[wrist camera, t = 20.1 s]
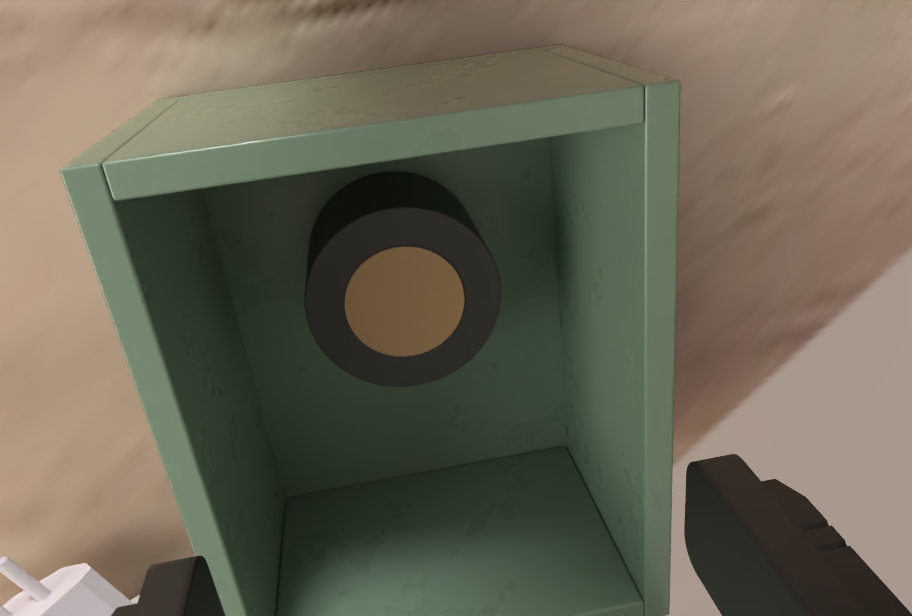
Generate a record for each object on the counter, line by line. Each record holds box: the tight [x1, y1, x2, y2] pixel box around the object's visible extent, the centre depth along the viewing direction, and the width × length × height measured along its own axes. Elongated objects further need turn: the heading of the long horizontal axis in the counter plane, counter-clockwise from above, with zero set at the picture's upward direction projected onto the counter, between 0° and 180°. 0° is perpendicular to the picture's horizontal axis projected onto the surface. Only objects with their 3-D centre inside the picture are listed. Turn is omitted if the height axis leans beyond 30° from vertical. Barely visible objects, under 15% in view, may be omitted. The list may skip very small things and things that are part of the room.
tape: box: [305, 171, 501, 387], centre depth 22 cm, size 6×6×4 cm
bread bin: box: [60, 44, 680, 616], centre depth 22 cm, size 16×13×9 cm
